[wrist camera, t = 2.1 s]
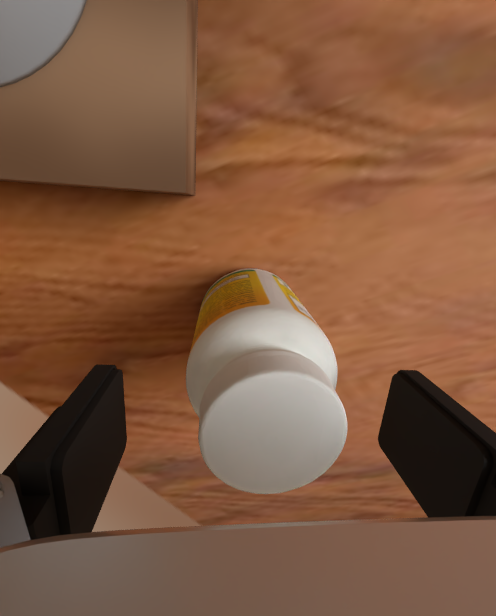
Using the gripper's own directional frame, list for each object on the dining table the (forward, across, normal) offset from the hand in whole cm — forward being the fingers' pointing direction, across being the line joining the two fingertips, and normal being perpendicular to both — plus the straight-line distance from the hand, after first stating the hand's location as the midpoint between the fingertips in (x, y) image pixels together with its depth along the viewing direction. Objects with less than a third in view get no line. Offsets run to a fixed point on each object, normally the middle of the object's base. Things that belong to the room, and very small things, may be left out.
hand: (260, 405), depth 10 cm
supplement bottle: (+7, 0, -1) cm, 8 cm away
